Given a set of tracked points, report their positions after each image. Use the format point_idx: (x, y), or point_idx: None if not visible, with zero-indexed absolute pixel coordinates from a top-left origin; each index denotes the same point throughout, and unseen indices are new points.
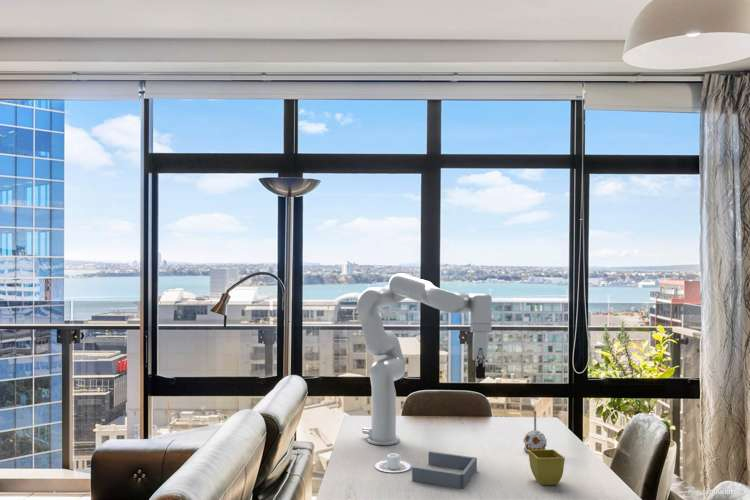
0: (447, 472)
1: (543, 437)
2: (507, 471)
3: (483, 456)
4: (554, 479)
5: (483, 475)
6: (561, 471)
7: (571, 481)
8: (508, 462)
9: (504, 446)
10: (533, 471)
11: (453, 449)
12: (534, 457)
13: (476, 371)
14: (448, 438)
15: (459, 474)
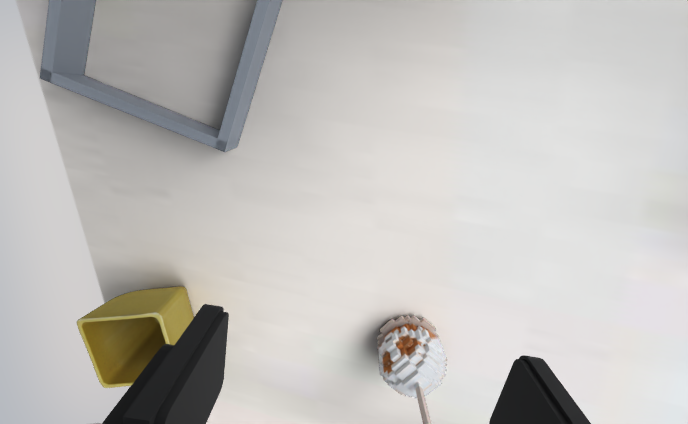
0: (49, 23)
1: (393, 388)
2: (237, 231)
3: (365, 189)
4: (138, 324)
5: (194, 159)
6: (126, 352)
7: None
8: (313, 250)
9: (462, 270)
10: (161, 291)
11: (439, 99)
12: (108, 314)
13: (167, 363)
14: (574, 97)
15: (43, 65)
